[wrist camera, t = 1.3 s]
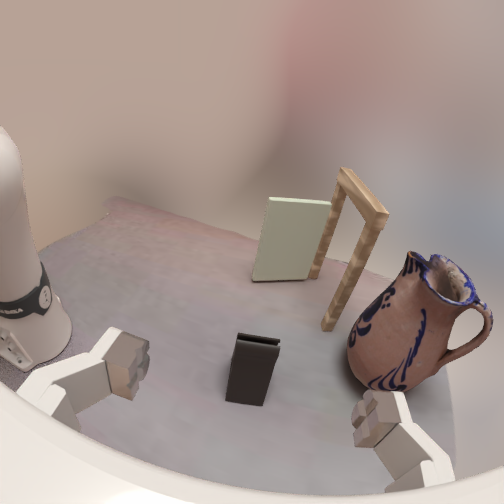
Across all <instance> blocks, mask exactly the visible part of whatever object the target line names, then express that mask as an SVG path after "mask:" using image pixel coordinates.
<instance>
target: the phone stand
mask: <svg viewBox="0 0 504 504" xmlns="http://www.w3.org/2000/svg"><path fill="white" fill-rule="evenodd" d="M278 343H280V339H275V338H268V337H261V336H255V335H249V334H243V333H238V335H237V340H236V344H235V348H234V352H233V356H232V362H231V368H230V375H229V381H228V387H227V393H226V400H225V401H231V402H238V403H244V404H252V405H259V406H263V402H264V399H265V396H266V393H267V389H268V386H269V383H270V379H271V376H272V373H273V369H274V366H275V363H276V360H277V358H278V356H279V351H280V346H277V345H278Z"/></svg>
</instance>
